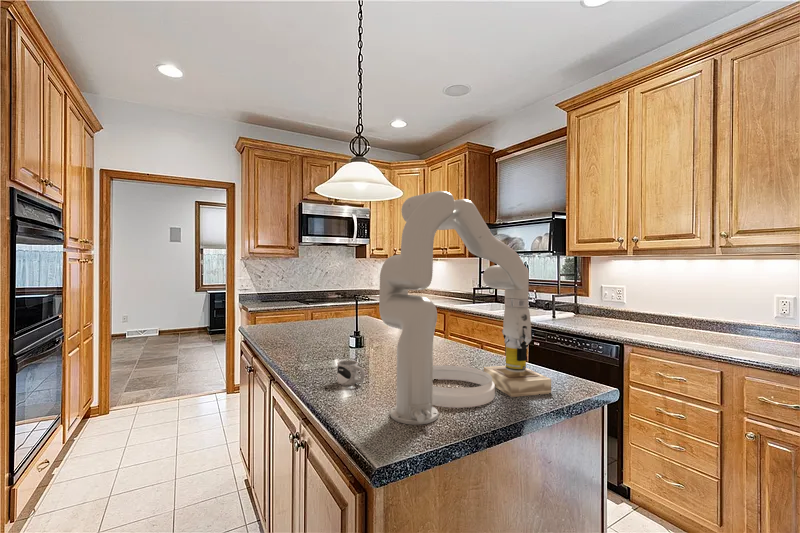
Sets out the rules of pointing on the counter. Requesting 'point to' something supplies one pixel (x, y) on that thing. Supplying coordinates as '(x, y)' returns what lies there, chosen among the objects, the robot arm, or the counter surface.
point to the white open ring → (462, 395)
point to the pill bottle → (513, 356)
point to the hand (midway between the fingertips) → (515, 357)
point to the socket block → (519, 381)
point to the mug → (349, 373)
